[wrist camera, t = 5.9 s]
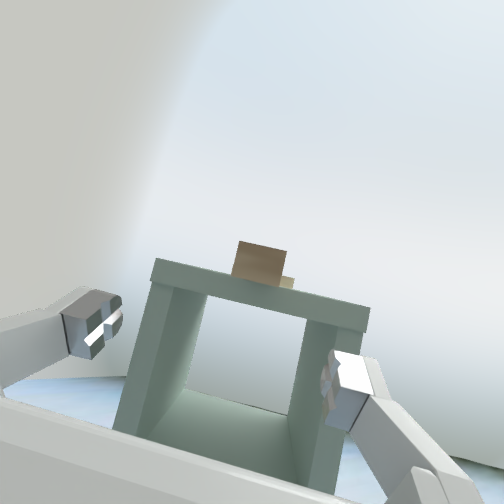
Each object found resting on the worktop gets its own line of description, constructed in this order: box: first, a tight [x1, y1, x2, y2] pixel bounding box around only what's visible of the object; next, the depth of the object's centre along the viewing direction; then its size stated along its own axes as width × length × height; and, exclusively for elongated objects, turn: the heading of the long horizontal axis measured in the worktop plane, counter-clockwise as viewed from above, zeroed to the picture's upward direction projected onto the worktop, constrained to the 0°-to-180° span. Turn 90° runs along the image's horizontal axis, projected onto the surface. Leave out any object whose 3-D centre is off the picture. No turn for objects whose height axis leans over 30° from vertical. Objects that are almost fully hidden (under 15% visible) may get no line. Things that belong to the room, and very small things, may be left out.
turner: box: [231, 241, 294, 289], centre depth 24 cm, size 23×7×2 cm, turn 177°
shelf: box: [112, 258, 370, 495], centre depth 27 cm, size 18×15×26 cm
